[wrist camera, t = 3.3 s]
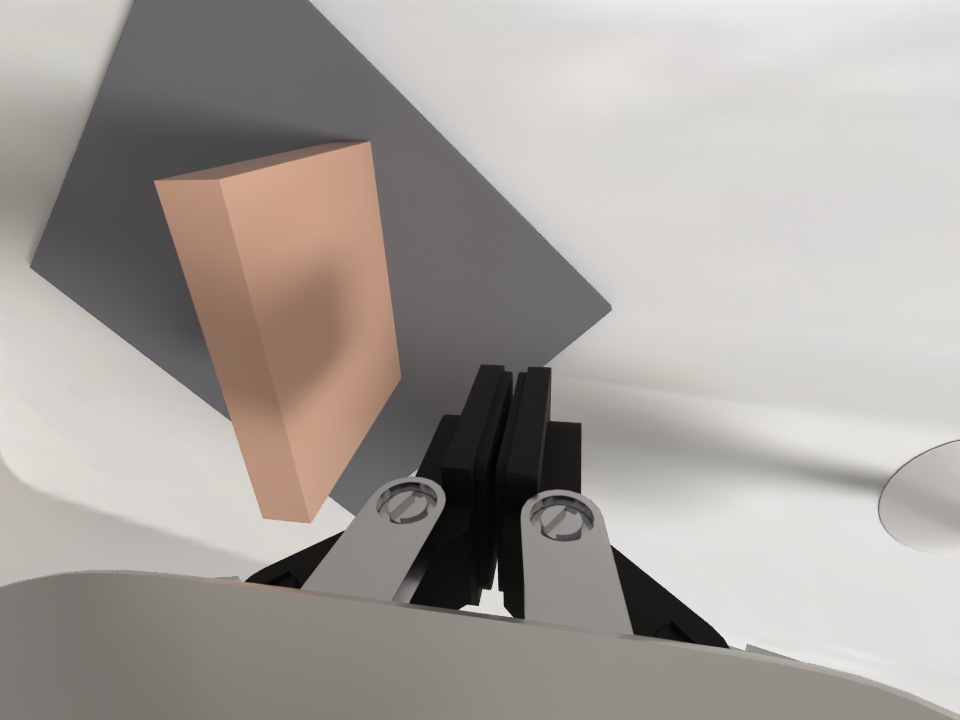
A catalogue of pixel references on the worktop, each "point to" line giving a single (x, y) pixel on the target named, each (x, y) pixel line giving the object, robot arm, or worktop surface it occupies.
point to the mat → (282, 128)
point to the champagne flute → (926, 502)
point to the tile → (291, 310)
